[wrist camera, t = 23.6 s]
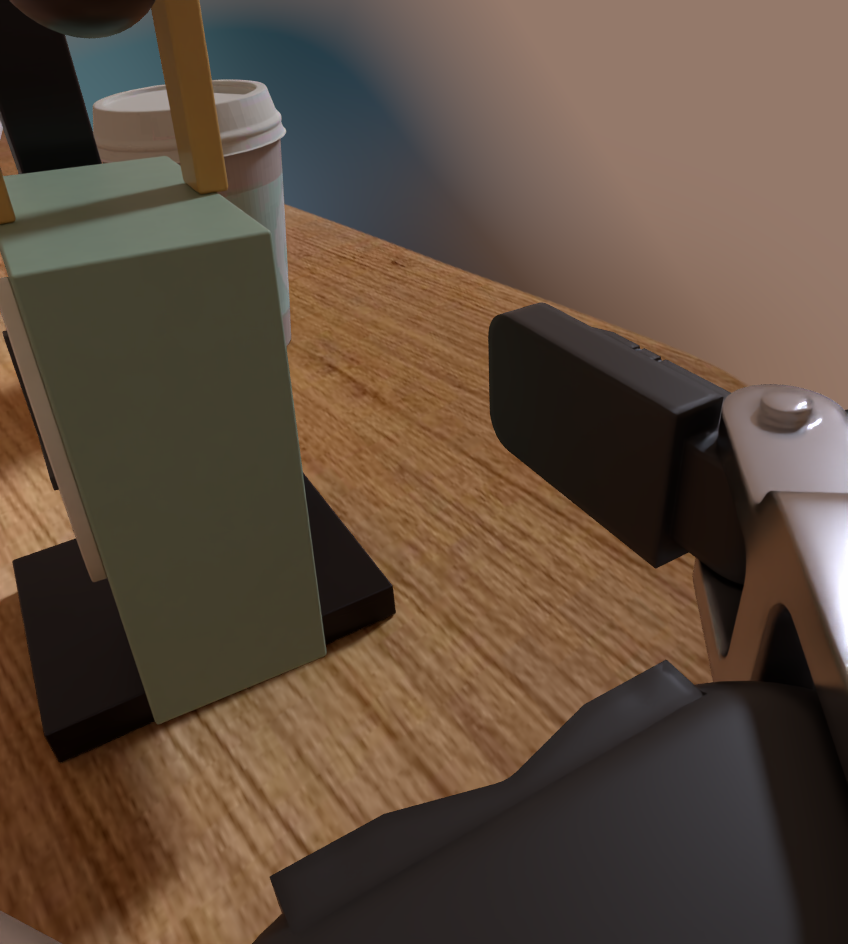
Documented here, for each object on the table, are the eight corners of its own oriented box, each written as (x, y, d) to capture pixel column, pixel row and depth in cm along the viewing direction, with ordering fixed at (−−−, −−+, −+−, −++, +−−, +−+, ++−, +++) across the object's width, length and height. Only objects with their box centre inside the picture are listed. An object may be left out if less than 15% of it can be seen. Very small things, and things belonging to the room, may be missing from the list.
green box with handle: (241, 503, 24) (122, -130, 15) (335, 652, 18) (233, -179, 10) (82, 554, 22) (-154, -134, 13) (137, 734, 17) (-192, -197, 8)
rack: (300, 487, 30) (184, -114, 19) (507, 758, 20) (501, -203, 9) (24, 586, 26) (-305, -88, 16) (102, 983, 16) (-702, -194, 5)
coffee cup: (337, 358, 39) (300, 94, 32) (163, 399, 36) (82, 124, 30) (294, 300, 45) (256, 70, 39) (144, 331, 43) (75, 93, 36)
